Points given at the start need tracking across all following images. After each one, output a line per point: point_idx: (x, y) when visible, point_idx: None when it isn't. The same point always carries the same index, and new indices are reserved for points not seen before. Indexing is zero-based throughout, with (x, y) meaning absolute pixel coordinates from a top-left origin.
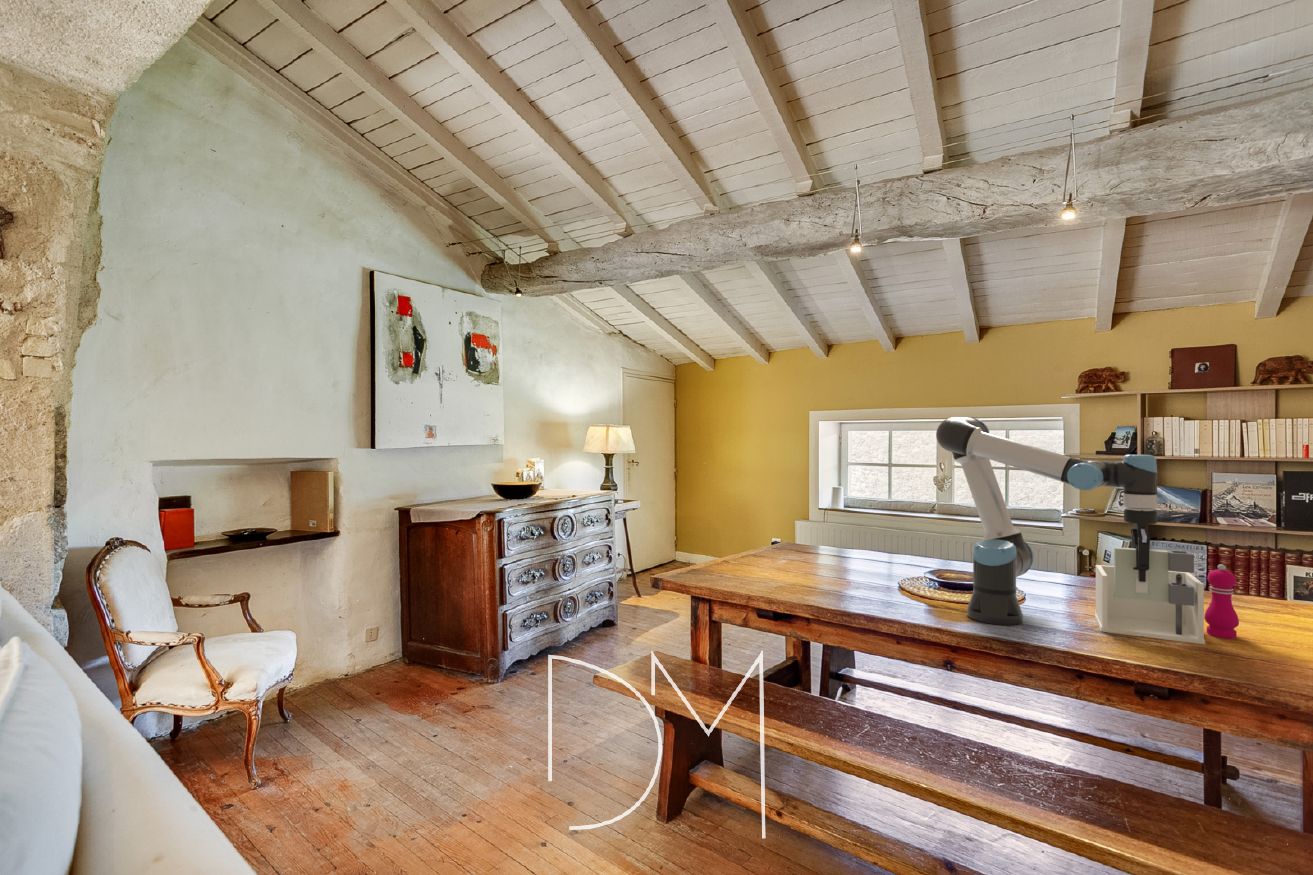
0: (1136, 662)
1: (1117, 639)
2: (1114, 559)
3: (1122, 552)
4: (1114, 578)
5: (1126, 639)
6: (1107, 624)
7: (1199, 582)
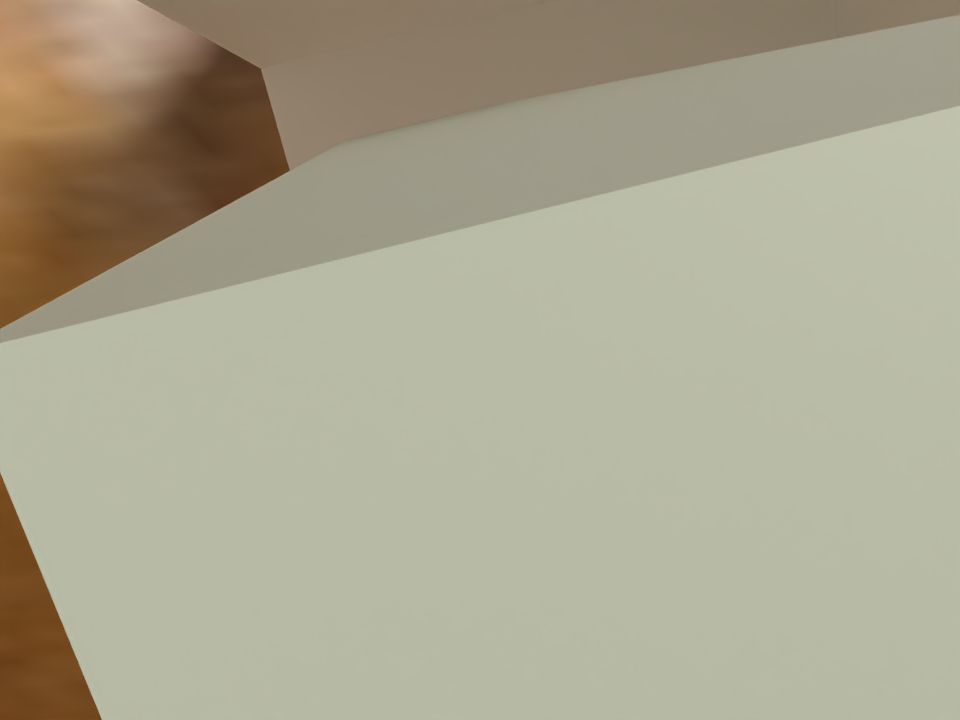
0: None
1: (60, 187)
2: (605, 92)
3: None
4: (483, 110)
5: (131, 256)
6: (418, 51)
7: None
